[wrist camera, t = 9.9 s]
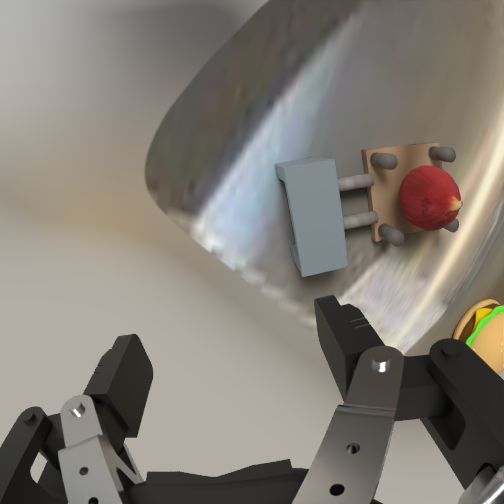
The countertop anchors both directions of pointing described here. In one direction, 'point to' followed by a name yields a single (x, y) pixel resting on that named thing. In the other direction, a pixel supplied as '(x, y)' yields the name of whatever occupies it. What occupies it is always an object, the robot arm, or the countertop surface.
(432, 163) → the pin seat
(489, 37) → the countertop surface
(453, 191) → the onion
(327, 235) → the housing
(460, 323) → the hamburger
